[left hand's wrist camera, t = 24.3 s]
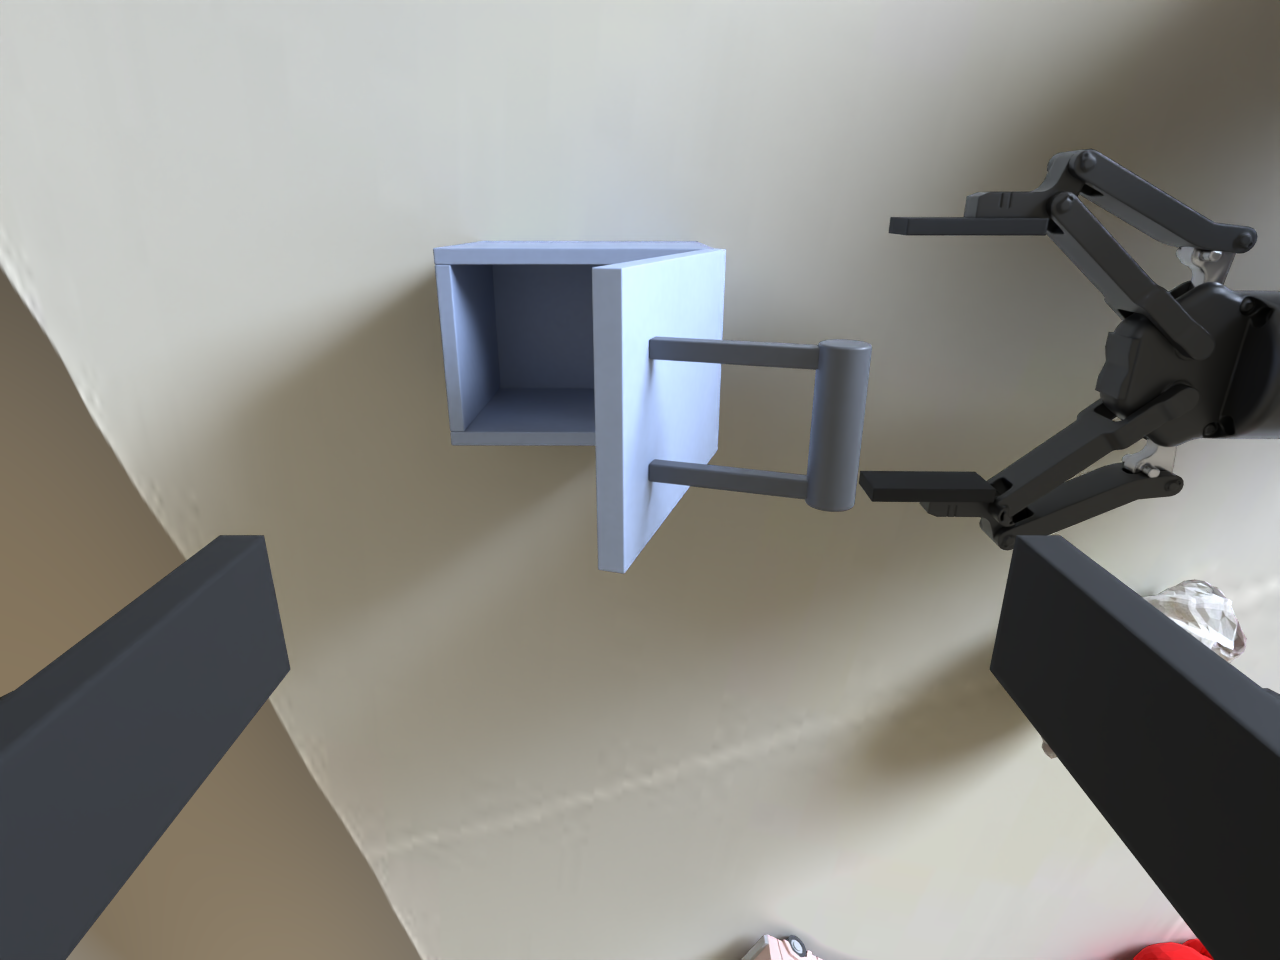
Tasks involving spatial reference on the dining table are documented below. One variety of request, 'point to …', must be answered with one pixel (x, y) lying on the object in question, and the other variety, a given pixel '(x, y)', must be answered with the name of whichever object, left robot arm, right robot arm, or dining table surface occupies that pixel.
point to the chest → (525, 336)
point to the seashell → (1199, 620)
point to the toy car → (779, 950)
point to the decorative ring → (1175, 951)
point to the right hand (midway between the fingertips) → (879, 364)
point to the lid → (698, 400)
